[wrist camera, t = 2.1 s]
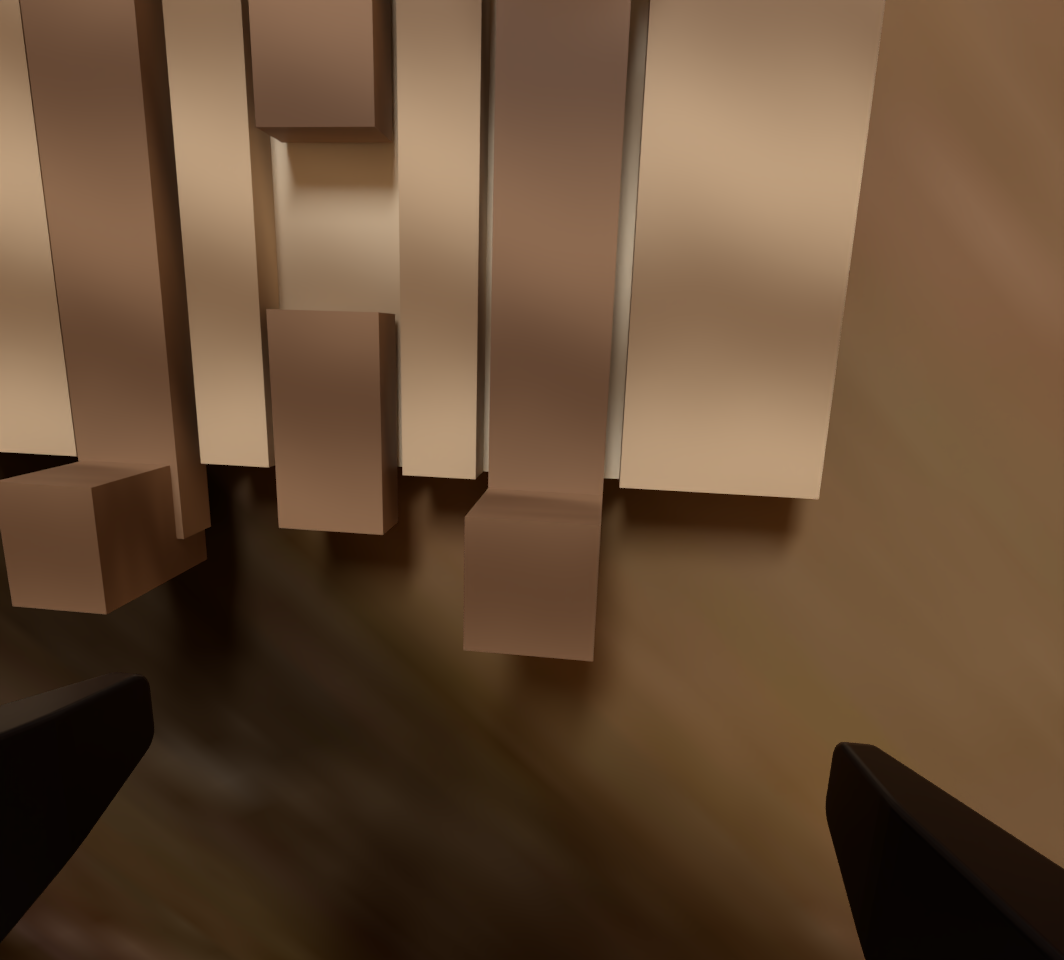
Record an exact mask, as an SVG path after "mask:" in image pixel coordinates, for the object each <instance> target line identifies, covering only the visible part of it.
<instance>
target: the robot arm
mask: <svg viewBox="0 0 1064 960" xmlns="http://www.w3.org/2000/svg"><path fill="white" fill-rule="evenodd" d="M153 735H154V721H153V712H152V702H151V693H150V686H149V682H148V680H147V679H146V678H145V677H144V676H143V675H140V674H131V673H121V672H113V673H109V674H105V675H102V676H99V677H95V678H92V679H89V680H85V681H82V682H79V683H75V684H72V685H68V686H65V687H62V688H58V689H55V690H52V691H48V692H45V693H42V694H38V695H35V696H32V697H28V698H25V699H21V700H18V701H15V702H11V703H8V704H5V705H1V706H0V943H1V942H2V941H3V939H4V938H5V937H6V936H7V935H8V933H9V932H10V931H11V930H12V929H13V927H14V926H15V925H16V924H17V923H18V921H19V920H20V919H21V918H22V916H23V915H24V914H25V913H26V912H27V910H28V909H29V908H30V907H31V906H32V904H33V903H34V902H35V901H36V900H37V898H38V897H39V896H40V895H41V894H42V892H43V891H44V890H45V889H46V888H47V886H48V885H49V884H50V883H51V882H52V880H53V879H54V878H55V877H56V876H57V874H58V873H59V872H60V871H61V869H62V868H63V867H64V866H65V864H66V863H67V862H68V861H69V859H70V858H71V857H72V856H73V854H74V853H75V852H76V850H77V849H78V848H79V846H80V845H81V844H82V842H83V841H84V839H85V838H86V837H87V835H88V834H89V833H90V831H91V830H92V828H93V827H94V825H95V824H96V823H97V821H98V820H99V818H100V817H101V815H102V814H103V813H104V811H105V810H106V808H107V807H108V805H109V804H110V803H111V801H112V800H113V798H114V797H115V796H116V794H117V793H118V791H119V790H120V788H121V787H122V786H123V784H124V783H125V781H126V780H127V778H128V777H129V776H130V774H131V773H132V771H133V770H134V768H135V767H136V766H137V764H138V763H139V761H140V760H141V759H142V757H143V756H144V754H145V753H146V751H147V750H148V748H149V746H150V744H151V742H152V739H153ZM826 817H827V822H828V826H829V830H830V834H831V837H832V841H833V845H834V848H835V852H836V856H837V859H838V863H839V867H840V871H841V874H842V878H843V882H844V885H845V889H846V893H847V896H848V900H849V904H850V907H851V911H852V915H853V919H854V922H855V926H856V930H857V933H858V937H859V940H860V943H861V947H862V950H863V954H864V957H865V959H866V960H1064V869H1063V868H1062V867H1060V866H1059V865H1057V864H1056V863H1054V862H1052V861H1051V860H1049V859H1048V858H1046V857H1045V856H1043V855H1042V854H1040V853H1039V852H1037V851H1036V850H1034V849H1032V848H1031V847H1029V846H1028V845H1026V844H1025V843H1023V842H1022V841H1020V840H1019V839H1017V838H1016V837H1014V836H1013V835H1011V834H1009V833H1008V832H1006V831H1005V830H1003V829H1002V828H1000V827H999V826H997V825H996V824H994V823H993V822H991V821H990V820H988V819H986V818H985V817H983V816H982V815H980V814H979V813H977V812H976V811H974V810H973V809H971V808H970V807H968V806H966V805H965V804H963V803H962V802H960V801H959V800H957V799H956V798H954V797H953V796H951V795H950V794H948V793H947V792H945V791H943V790H942V789H940V788H939V787H937V786H936V785H934V784H933V783H931V782H930V781H928V780H927V779H925V778H924V777H922V776H920V775H919V774H917V773H916V772H914V771H913V770H911V769H910V768H908V767H907V766H905V765H904V764H902V763H901V762H899V761H897V760H896V759H894V758H893V757H891V756H890V755H888V754H887V753H885V752H884V751H882V750H881V749H879V748H878V747H876V746H873V745H870V744H860V743H849V742H840V743H839V744H838V745H836V747H835V749H834V752H833V757H832V763H831V770H830V777H829V783H828V790H827V796H826Z"/></svg>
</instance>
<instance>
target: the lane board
mask: <svg viewBox="0 0 1064 960" xmlns="http://www.w3.org/2000/svg"><path fill="white" fill-rule="evenodd" d="M162 5H163V17H164V29H165V40H166V52H167V64H168V76H169V88H170V100H171V112H172V124H173V136H174V148H175V160H176V172H177V184H178V196H179V208H180V219H181V231H182V243H183V255H184V267H185V279H186V291H187V303H188V315H189V327H190V339H191V351H192V363H193V375H194V387H195V398H196V410H197V422H198V434H199V446H200V458H201V464H218V465H236V466H253V467H271V466H274V465H275V469H276V486H277V503H278V521H279V528H289V529H304V530H318V531H333V532H348V533H362V534H377V535H384V534H385V533H386V532H387V531H388V530H389V529H391V528H392V527H393V526H394V525H395V524H396V523H397V522H398V474H397V467H402V475H409V476H426V477H443V478H461V479H476V478H477V477H478V476H479V475H480V474H481V473H482V472H483V471H486V472H488V470H489V410H490V351H491V292H492V233H493V174H494V115H495V56H496V0H162ZM884 8H885V0H631V11H630V28H629V45H628V63H627V80H626V98H625V115H624V132H623V150H622V167H621V185H620V202H619V219H618V237H617V254H616V272H615V289H614V306H613V324H612V341H611V359H610V376H609V393H608V411H607V428H606V446H605V463H604V478H610V479H619V488H634V489H651V490H668V491H686V492H703V493H720V494H738V495H755V496H772V497H789V498H807V499H819V493H820V485H821V478H822V470H823V463H824V455H825V448H826V440H827V433H828V425H829V418H830V411H831V403H832V396H833V388H834V381H835V373H836V366H837V358H838V351H839V343H840V336H841V328H842V321H843V314H844V306H845V299H846V291H847V284H848V276H849V269H850V261H851V254H852V246H853V239H854V232H855V224H856V217H857V209H858V202H859V194H860V187H861V179H862V172H863V164H864V157H865V150H866V142H867V135H868V127H869V120H870V112H871V105H872V97H873V90H874V82H875V75H876V68H877V60H878V53H879V45H880V38H881V30H882V23H883V15H884ZM0 452H11V453H28V454H45V455H63V456H78V454H77V446H76V438H75V430H74V422H73V414H72V406H71V398H70V391H69V383H68V375H67V367H66V359H65V351H64V343H63V335H62V327H61V319H60V312H59V304H58V296H57V288H56V280H55V272H54V264H53V256H52V248H51V240H50V233H49V225H48V217H47V209H46V201H45V193H44V185H43V177H42V169H41V161H40V154H39V146H38V138H37V130H36V122H35V114H34V106H33V98H32V90H31V82H30V75H29V67H28V59H27V51H26V43H25V35H24V27H23V19H22V11H21V3H20V0H0Z"/></svg>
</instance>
